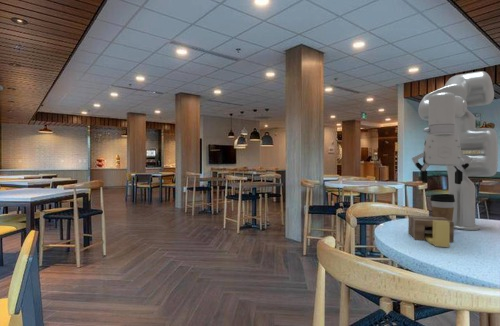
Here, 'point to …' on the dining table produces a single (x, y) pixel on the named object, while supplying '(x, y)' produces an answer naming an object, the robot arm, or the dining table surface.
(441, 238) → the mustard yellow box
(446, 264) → the dining table surface
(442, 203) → the coffee cup
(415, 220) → the dispenser
